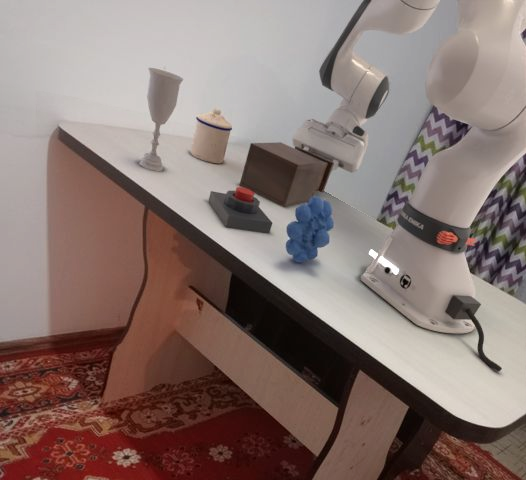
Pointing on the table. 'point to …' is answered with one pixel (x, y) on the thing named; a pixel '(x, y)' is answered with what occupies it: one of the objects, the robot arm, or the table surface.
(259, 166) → the cabinet
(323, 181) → the drawer
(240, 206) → the control block
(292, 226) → the grapes
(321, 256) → the table surface
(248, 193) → the button
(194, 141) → the lidded canister
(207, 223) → the table surface
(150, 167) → the chalice
